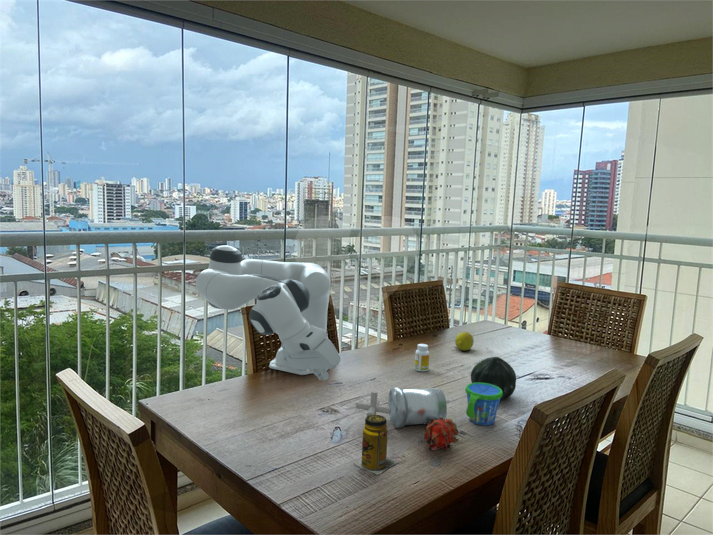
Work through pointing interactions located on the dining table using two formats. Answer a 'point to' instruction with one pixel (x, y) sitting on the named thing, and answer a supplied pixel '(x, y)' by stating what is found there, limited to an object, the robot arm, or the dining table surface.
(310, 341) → the robot arm
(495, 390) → the snack cup
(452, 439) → the dragon fruit
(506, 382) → the squash
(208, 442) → the dining table surface
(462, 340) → the lemon
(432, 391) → the white flanged cylinder
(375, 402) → the pipe connector
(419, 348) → the supplement bottle
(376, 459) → the condiment
